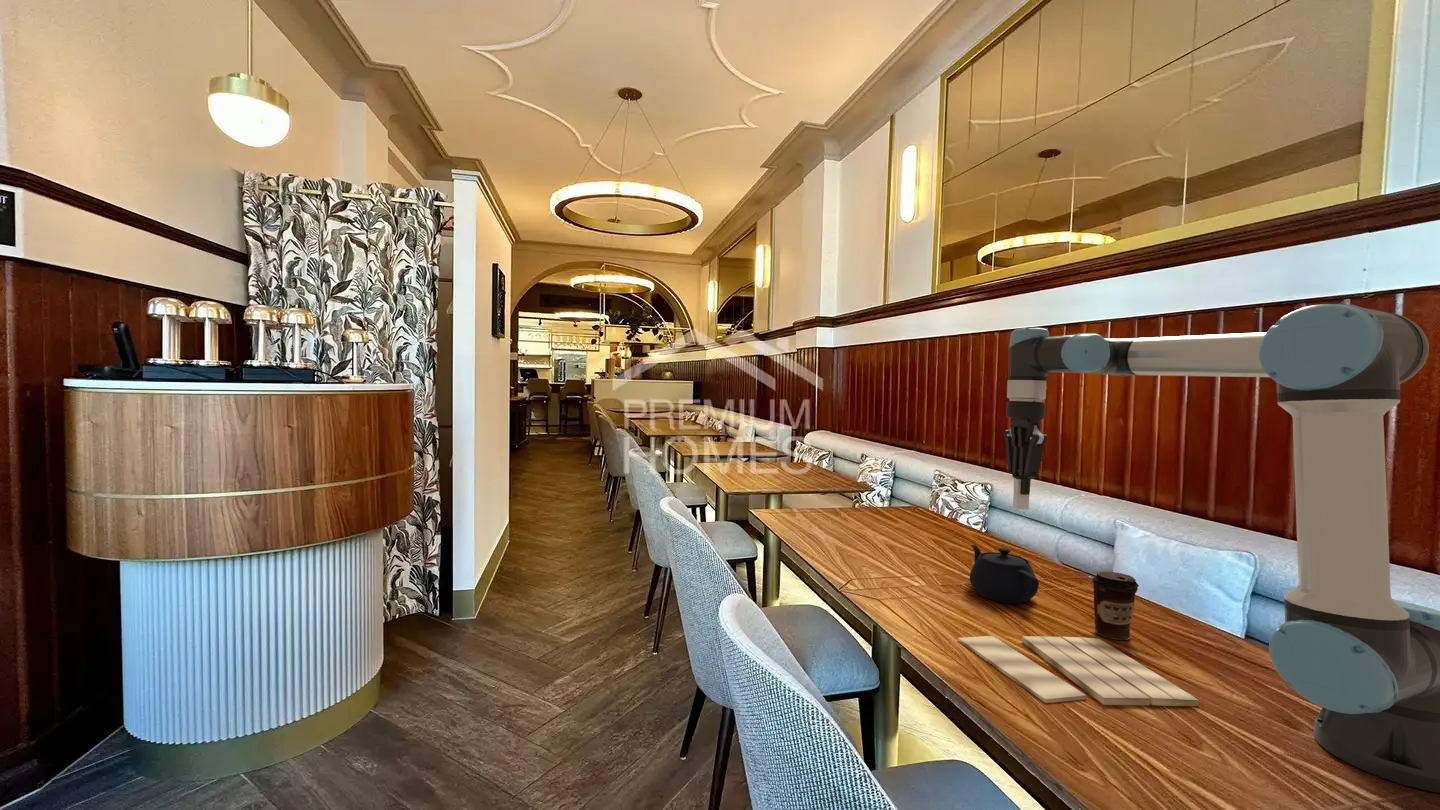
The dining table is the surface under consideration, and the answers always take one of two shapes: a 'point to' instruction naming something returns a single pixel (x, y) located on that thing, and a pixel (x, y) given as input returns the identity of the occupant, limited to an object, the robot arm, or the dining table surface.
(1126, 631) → the coffee cup
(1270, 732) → the dining table surface
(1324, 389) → the robot arm
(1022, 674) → the plank
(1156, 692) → the plank
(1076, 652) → the laid board
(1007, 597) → the teapot
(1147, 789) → the dining table surface
